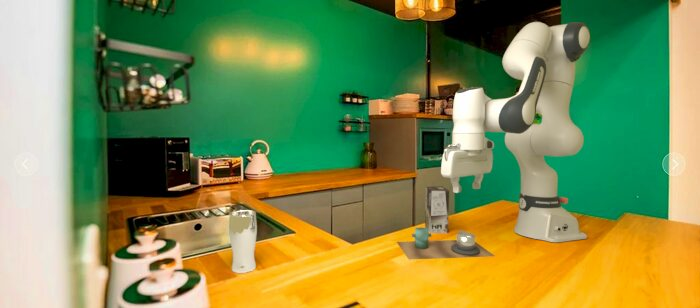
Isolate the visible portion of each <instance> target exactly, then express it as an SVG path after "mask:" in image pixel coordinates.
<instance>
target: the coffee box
mask: <svg viewBox="0 0 700 308" xmlns="http://www.w3.org/2000/svg"><path fill="white" fill-rule="evenodd" d="M449 205H450V190H449V189H447V188H445V187H444V186H439V185H438V186H436V185H435V186H425V209H424V210H425V212H424V214H425V216H424V217H425V219H424V220H425V221H424V224H425V225H424V228H427V229H428V230H429V233H431V234H448V233H449V209H450V206H449Z"/></svg>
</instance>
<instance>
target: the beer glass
mask: <svg viewBox="0 0 700 308" xmlns="http://www.w3.org/2000/svg"><path fill="white" fill-rule="evenodd" d="M256 214H257V212H256V211H255V210H252V209H240V210H239V209H238V210H233V211H231V212H229V221H228V234H229V241H230V246H231V250H232V264H231V271H232V272H233V273H235V274H246V273H247V274H248V273H250V272H253V271H254V270H255V269H256V267H257V265H256V260H255V249H256V243H257V242H256V241H257V234H258V225H257V224H258V223H257V215H256Z"/></svg>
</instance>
